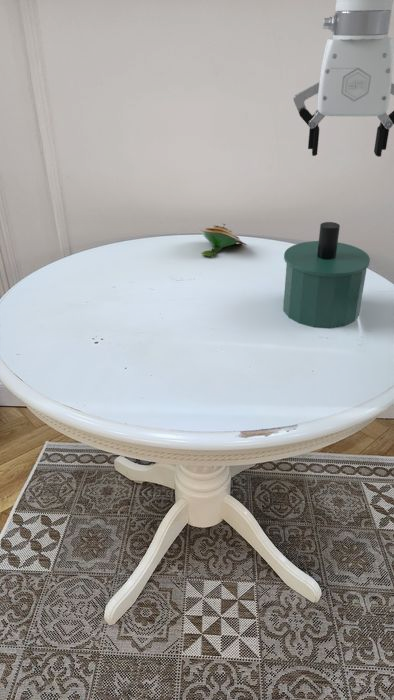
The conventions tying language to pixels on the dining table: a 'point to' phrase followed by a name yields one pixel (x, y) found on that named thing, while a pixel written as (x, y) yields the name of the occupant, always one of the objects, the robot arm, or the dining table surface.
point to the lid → (327, 255)
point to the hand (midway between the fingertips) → (345, 154)
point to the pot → (322, 298)
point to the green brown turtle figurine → (219, 239)
